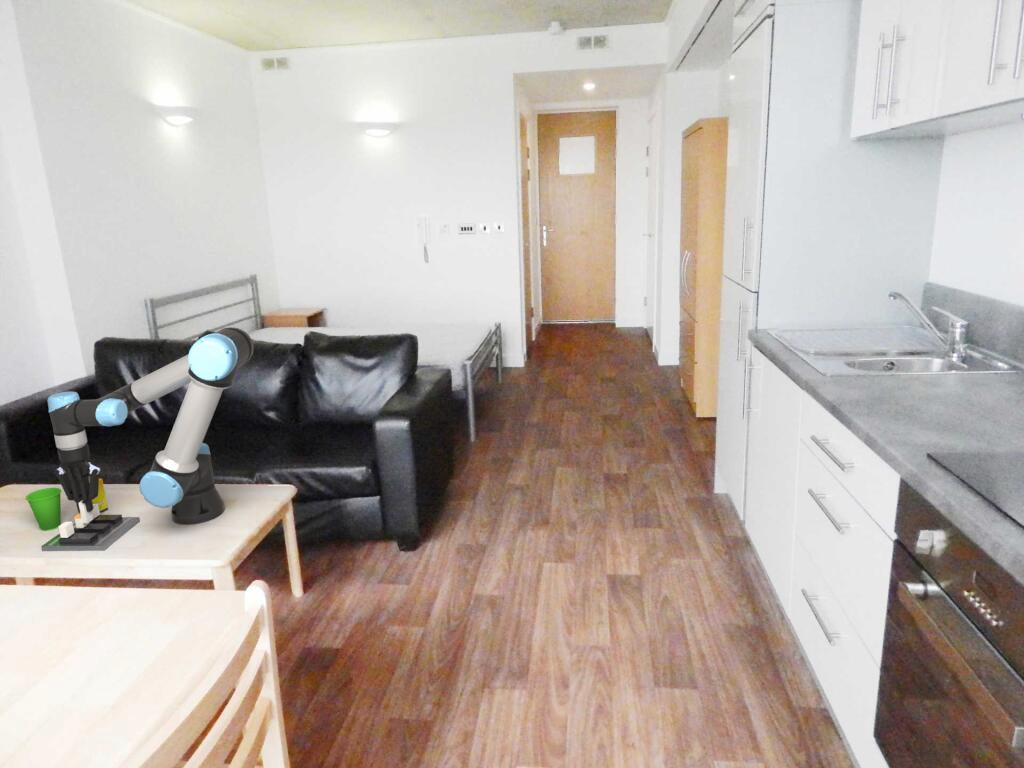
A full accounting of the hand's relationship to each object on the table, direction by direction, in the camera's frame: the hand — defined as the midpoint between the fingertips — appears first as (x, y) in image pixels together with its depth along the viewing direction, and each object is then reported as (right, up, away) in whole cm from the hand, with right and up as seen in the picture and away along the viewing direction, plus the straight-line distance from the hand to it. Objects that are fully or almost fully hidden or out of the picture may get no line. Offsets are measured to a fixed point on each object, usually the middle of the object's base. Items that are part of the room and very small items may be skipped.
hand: (87, 521), depth 199 cm
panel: (+1, -4, +1) cm, 5 cm away
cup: (-16, -3, +8) cm, 18 cm away
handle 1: (-2, -3, -5) cm, 7 cm away
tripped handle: (-2, -1, 0) cm, 2 cm away
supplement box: (-9, -1, +17) cm, 19 cm away
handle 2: (-2, 0, +6) cm, 7 cm away
